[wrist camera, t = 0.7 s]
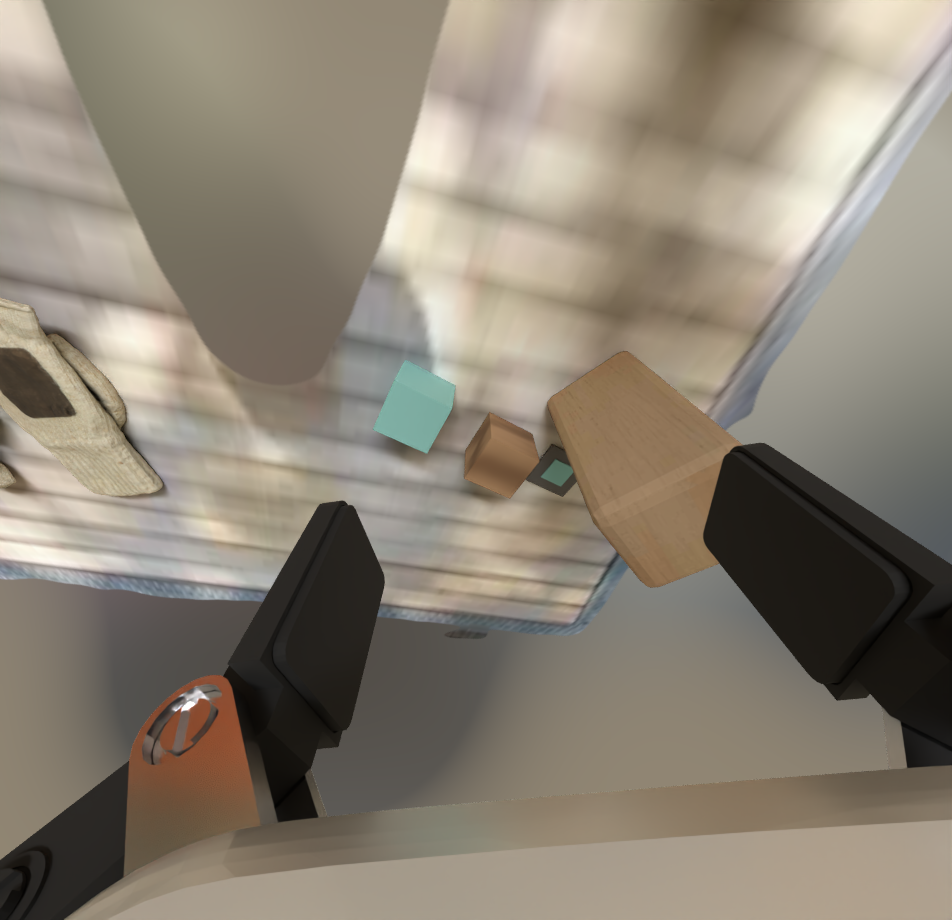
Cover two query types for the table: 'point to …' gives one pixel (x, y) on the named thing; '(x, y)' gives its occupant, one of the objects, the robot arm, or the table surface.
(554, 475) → the card
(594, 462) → the wooden block
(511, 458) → the walnut cube
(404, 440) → the teal cube
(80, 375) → the pair of gloves
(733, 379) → the table surface
